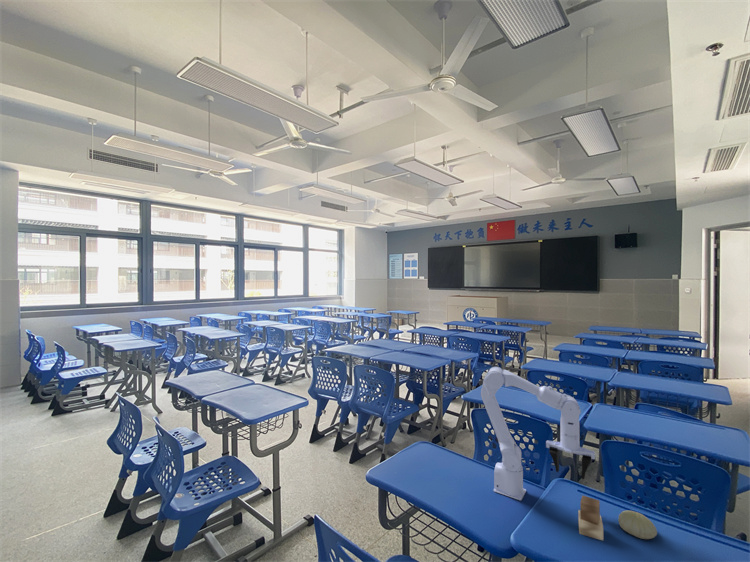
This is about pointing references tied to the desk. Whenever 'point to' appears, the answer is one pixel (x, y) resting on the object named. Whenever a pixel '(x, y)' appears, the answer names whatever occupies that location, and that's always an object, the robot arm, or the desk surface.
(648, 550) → the desk surface
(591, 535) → the beech base
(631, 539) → the desk surface
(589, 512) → the walnut block
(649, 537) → the sea urchin shell
